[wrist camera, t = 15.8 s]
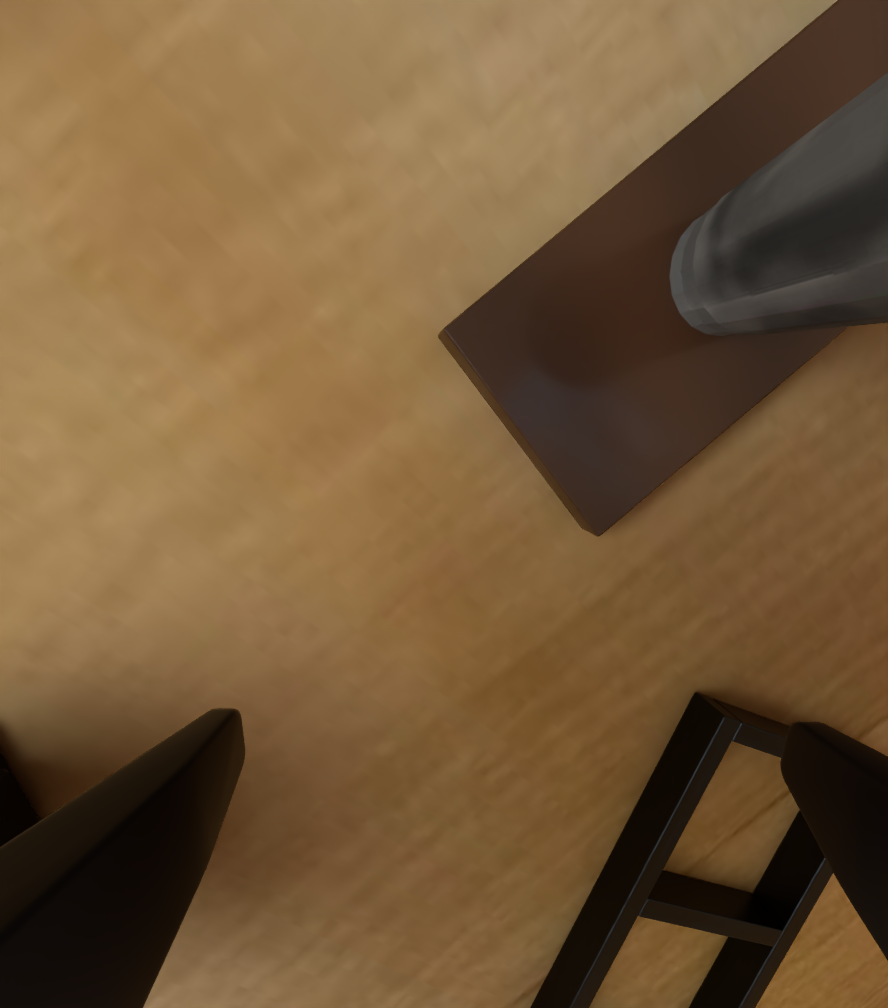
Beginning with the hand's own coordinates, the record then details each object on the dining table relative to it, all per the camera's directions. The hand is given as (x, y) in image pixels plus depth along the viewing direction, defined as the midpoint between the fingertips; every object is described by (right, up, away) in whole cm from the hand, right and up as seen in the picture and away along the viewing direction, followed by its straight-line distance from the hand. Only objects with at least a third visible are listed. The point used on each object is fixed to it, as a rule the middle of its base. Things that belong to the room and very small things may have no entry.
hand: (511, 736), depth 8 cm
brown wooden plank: (+9, +13, +12) cm, 20 cm away
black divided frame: (+12, -16, +17) cm, 26 cm away
